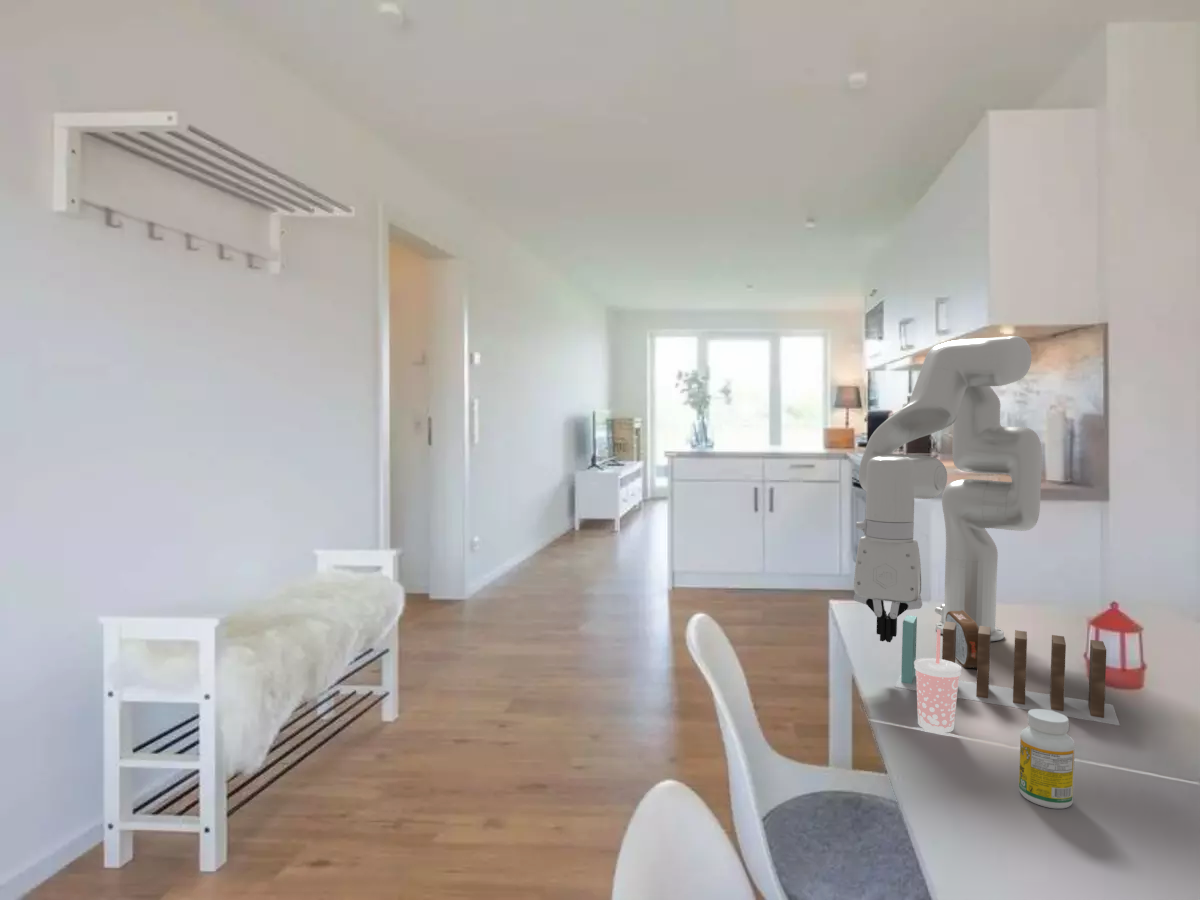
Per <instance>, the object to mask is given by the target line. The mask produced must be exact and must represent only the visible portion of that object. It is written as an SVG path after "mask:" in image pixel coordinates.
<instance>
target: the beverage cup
mask: <svg viewBox="0 0 1200 900" xmlns="http://www.w3.org/2000/svg"><path fill="white" fill-rule="evenodd" d="M935 644H936V646H935V647H936V651H935V657H922V658H916V660H915V661H914V665H915V666H914V668H915V669H916V671H915V673H916V683H917V691H916V703H917V705H916V706H917V708H916V710H917V725H919V727H920V729H921V730H922V731H925V732H928V733H931V734H936V735H950V734H951V732H952V731H954V729H955V728H954V727H955V719H956V718H955V717H956V708H957V700H958V698H957V690H958V680H960V679H959V678H960V676H962V670H963V669H962V667H963V666H962V665H961V664H960V663H957V662H955V663H954V662H951V661H947V660H943V659H942V658H940V657H941V629H937V630H936V643H935Z"/></svg>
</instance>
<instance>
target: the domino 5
mask: <svg viewBox="0 0 1200 900" xmlns="http://www.w3.org/2000/svg"><path fill="white" fill-rule="evenodd" d="M1066 648H1067V644H1066V640H1065V636H1063V635H1055V634H1052V635H1051V653H1050V654H1051V656H1050V683H1049V686H1050V687H1049V695H1050V704H1051V709H1053V710H1059V711H1064V697H1065V685H1066V684H1065V680H1066V679H1065V677H1066V676H1065V675H1066V653H1067V652H1066Z"/></svg>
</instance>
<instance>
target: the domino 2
mask: <svg viewBox="0 0 1200 900" xmlns="http://www.w3.org/2000/svg"><path fill="white" fill-rule="evenodd" d="M941 651H942V652H941V653H942V654H941V659H943V660H947V661H951V662H954V663H956V658H955V656H956V623H954V622H945V625H944V627H943V634H942V650H941Z"/></svg>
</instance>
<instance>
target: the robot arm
mask: <svg viewBox="0 0 1200 900" xmlns="http://www.w3.org/2000/svg"><path fill="white" fill-rule="evenodd" d="M1032 357H1033V356H1032V351H1031V346H1030V345H1029V343H1028V341H1027V340H1026V339H1025V338H1023V337H1021V336H1017V335H1015V336H1009V335H1008V336H996V337H978V338H976V337H975V338H964V339H962V338H961V339H956V340H951V341H950V340H949V341H946V342H944V343H941V344H937V345H935V346H933V347H932V348H931V349H930V350H929V351H927V354H926V355H925V358H924V360H923V363H922V366H921V368H920V372H919V374H918V376H917V379H916V382H915V385H914V388H913V391H912V393H911V396H910V399H909V402H908V403H907V405H905V406H904V407H902V408H900V409H899V410H897V411H896V412H895V413H893V414H892V415H891V416H889V417H888V418H886V420H884V421H883V422H882V423H881V424H879V426H878V427H877V428H876V429H875V430H874V431H873V433H872V434H871V436H870V437H869V439H868V441H867V443H866V447H865V450H864V452H863V455H862V457H861V460H860V462H859V463H860V464H859V468H858V481H859V484H860V487H861V488H862V489H863V491H865V493H866V494H865V519H864V520H862V521H856V525H855V529H856V530H857V531H861V532H863V535H864V536H861V537H860V538H859V541H858V544H857V545H858V546H857V550H856V551H857V552H856V558H855V567H854V568H855V569H854V581H853V586H854V587H853V591H854V595H853V600H854V601H855V602H857V603H860V604H863V605H866V606H867V607H868V608H869V609H870V611H872V612H873V613H874V616H875V617H876V635H879V641H880V642H885V641H886V642H887V643H891V642H892V640H893V639H894V638H895V637H897V633H898V617H899V616H901V615H902V614H904V613H905V611H909V610H910V611H911V610H919V609H921V608H922V606H923V601H922V597H921V592H922V568H921V565H922V564H921V555H920V548H919V543H918V540H917V539H914V531H915V530H914V524H915V522H914V520H915V500H929V499H934V498H937V497H938V496H939V495H940V494H942V495H941V505H942V512H943V513H942V514H943V517H944V526H945V528H944V529H945V559H944V560H945V562H944V563H945V564H944V569H945V570H944V596H943V597H944V601H943V603H942V604H941V605H940V607H939V606H938V607H935V609H934V612H935V614H938V615H940V616H941V618H940V620H939V621H938V622H936V623H935V626H934V627H935V630H936V631H937V629H941V633H940V635H943V627H944V625H945V622H946V614H947V613H948V612H949V611H961V610H963V611H964V612H965V613H966V614H967V615H969V616H970V617H971V618H972V619H973V620H974V621H975V622H976V623H977V625H978V628H979V626H986V627H991V638H990V642H998V641H1001V640H1003V639H1004V637H1005V632H1004V630H1003V629H1001V628H999V627H997V626H996V625H997V624H996V623H997V622H996V620H997V619H996V617H997V586H998V585H997V584H998V583H997V582H998V557H999V555H998V554H999V553H998V548H997V545H996V543H995V541H994V539H993V538H992V536H991V535H990V533H988V531H987V529H996V530H1004V531H1005V530H1006V531H1017V532H1019V531H1020V532H1022V531H1023V532H1025V531H1029V530H1032V529H1033V528H1034V527H1036V525H1037V523H1038V521H1039V517H1040V512H1041V511H1040V510H1041V494H1042V493H1041V491H1042V488H1041V487H1042V466H1043V464H1042V463H1043V450H1042V443H1041V439H1040V436H1039V435H1038V433H1036V432H1035V430H1033V429H1031V428H1028V427H1025V426H1024V427H1023V426H1001V400H1000V398H999V396H998V394H997V393H996V392H995V391H994V389H993V388H992V387H1001V386H1007V385H1009V384H1012V383H1015V382H1018V381H1020V380H1022V379H1023V378H1024V377H1025V376H1027V374H1028V372H1029V370H1030V367H1031V364H1032ZM951 426H952V449H951V450H952V451H951V453H952V462H953V464H954V466H955V467H956V469H958V470H960V471H962V472H966V473H975V474H988V475H990V474H991V475H992V474H993V475H1008V476H1009V477H1010V479H1011V481H1002V480H1001V481H1000V480H999V481H998V480H997V481H996V480H989V479H987V480H986V479H972V478H971V479H965V478H964V479H958V480H954V481H951V482H950V483H947V482H948V472H947V471H948V470H947V469H946V466H945V465H944V463H943V462H942V461H941V460H939V458H936V457H934V456H931V455H920V454H918V455H917V454H904V453H903V454H902V453H895V452H896V450H898V449H899V448H900V447H902V446H904V445H906V444H908V443H910V442H913V441H915V440H917V439H919V438H924V437H926V436H929V435H932V434H934V433H938V432H939V431H942V430H945V429H947V428H949V427H951ZM884 601H886V602H891V606H890V609H889V612H888V614H887V611H886V609H885V602H884Z"/></svg>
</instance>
